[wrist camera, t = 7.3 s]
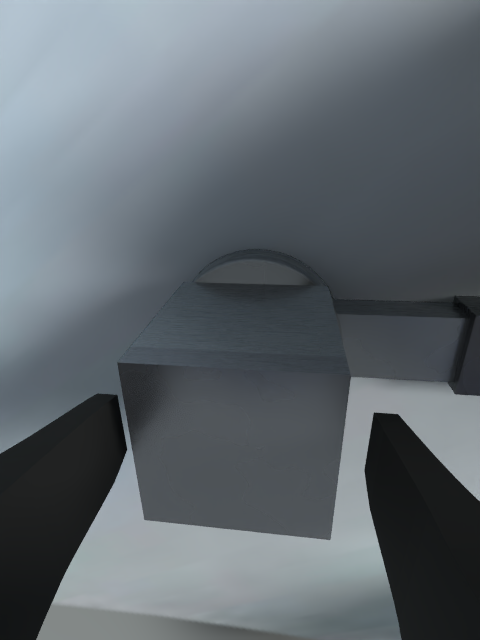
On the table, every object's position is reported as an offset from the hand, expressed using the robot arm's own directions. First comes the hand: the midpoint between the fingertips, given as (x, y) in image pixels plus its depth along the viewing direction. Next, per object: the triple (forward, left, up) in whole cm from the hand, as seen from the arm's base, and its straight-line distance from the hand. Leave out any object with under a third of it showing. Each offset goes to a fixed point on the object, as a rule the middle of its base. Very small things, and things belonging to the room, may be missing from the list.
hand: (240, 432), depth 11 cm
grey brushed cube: (0, 0, -5) cm, 5 cm away
